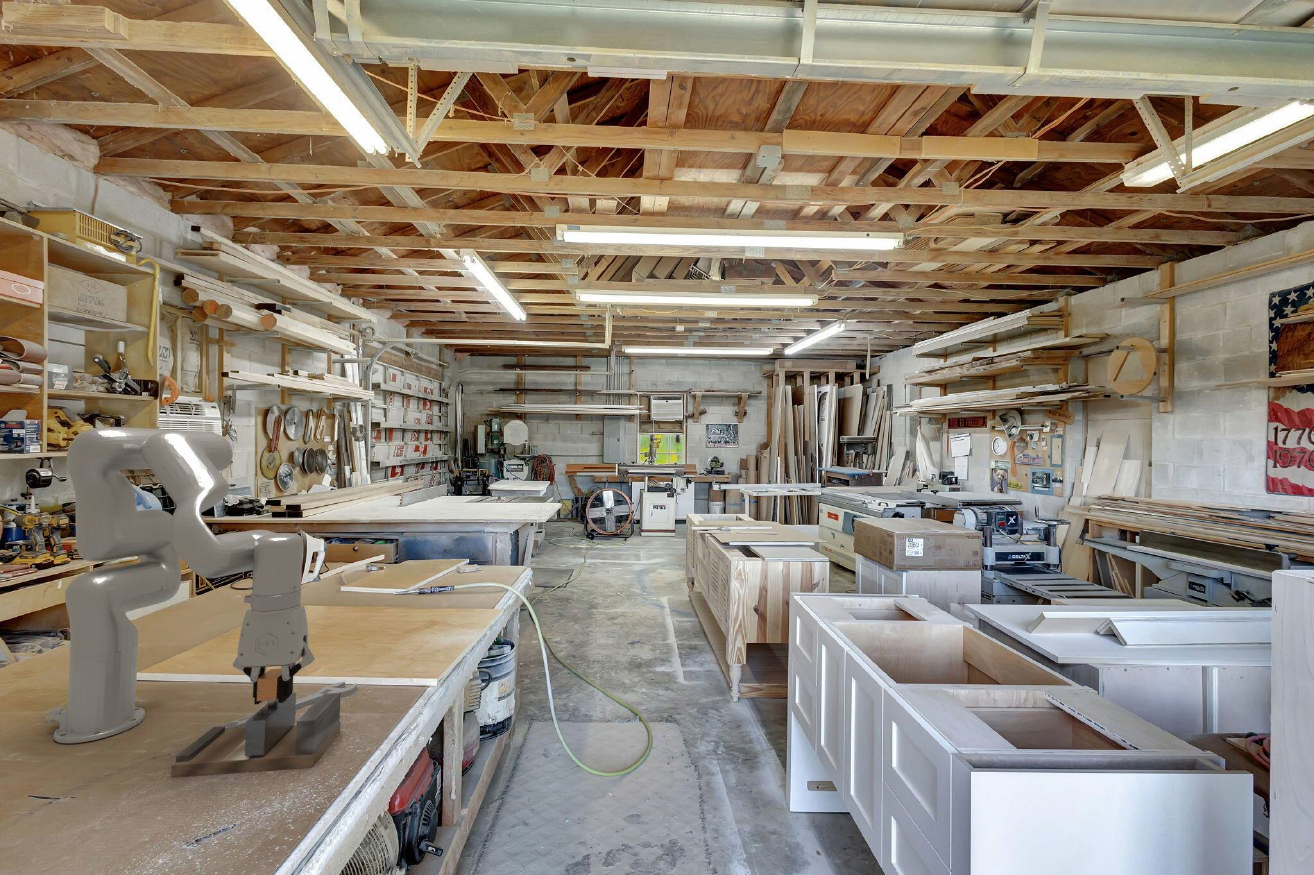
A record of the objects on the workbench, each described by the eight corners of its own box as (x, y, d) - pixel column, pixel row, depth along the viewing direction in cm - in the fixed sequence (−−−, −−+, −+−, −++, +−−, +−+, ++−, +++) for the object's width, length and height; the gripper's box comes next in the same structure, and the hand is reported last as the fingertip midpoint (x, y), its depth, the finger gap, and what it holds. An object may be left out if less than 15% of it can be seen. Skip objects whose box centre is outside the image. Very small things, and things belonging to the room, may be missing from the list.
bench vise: (170, 777, 91) (173, 729, 91) (216, 740, 103) (218, 697, 103) (312, 767, 95) (313, 721, 95) (340, 732, 107) (341, 691, 107)
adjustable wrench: (224, 737, 105) (225, 728, 105) (216, 726, 109) (216, 717, 109) (359, 693, 125) (359, 685, 125) (347, 685, 129) (348, 678, 129)
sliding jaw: (244, 756, 94) (247, 686, 94) (277, 724, 104) (279, 662, 105) (264, 754, 94) (267, 685, 94) (295, 723, 105) (297, 661, 105)
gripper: (214, 607, 95) (209, 712, 94) (315, 605, 98) (311, 707, 97) (239, 596, 102) (235, 693, 102) (333, 594, 105) (329, 689, 105)
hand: (272, 699), depth 100 cm, fingers closed on sliding jaw, 3 cm apart
